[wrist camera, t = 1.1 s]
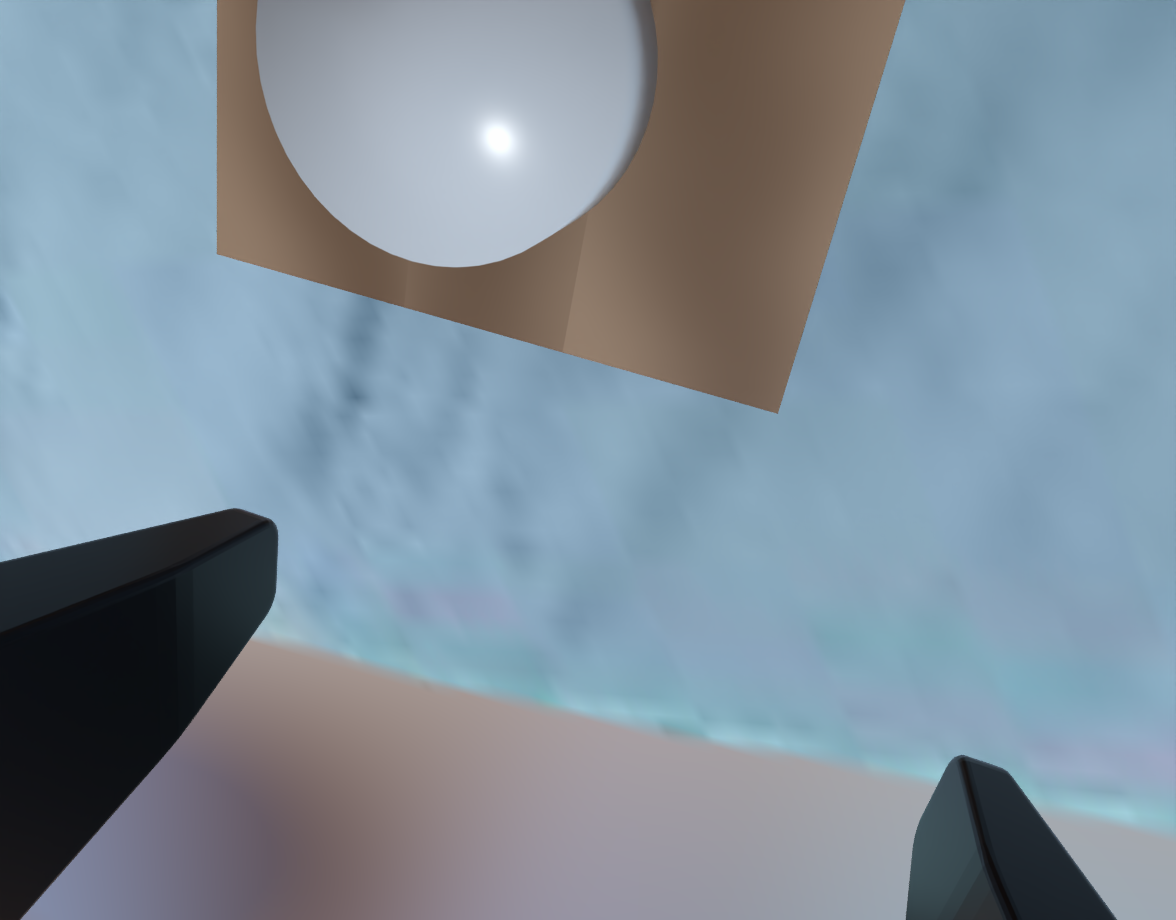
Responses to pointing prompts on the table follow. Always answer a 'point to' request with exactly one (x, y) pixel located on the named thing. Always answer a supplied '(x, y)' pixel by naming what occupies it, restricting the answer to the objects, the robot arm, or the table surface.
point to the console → (624, 201)
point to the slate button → (458, 114)
